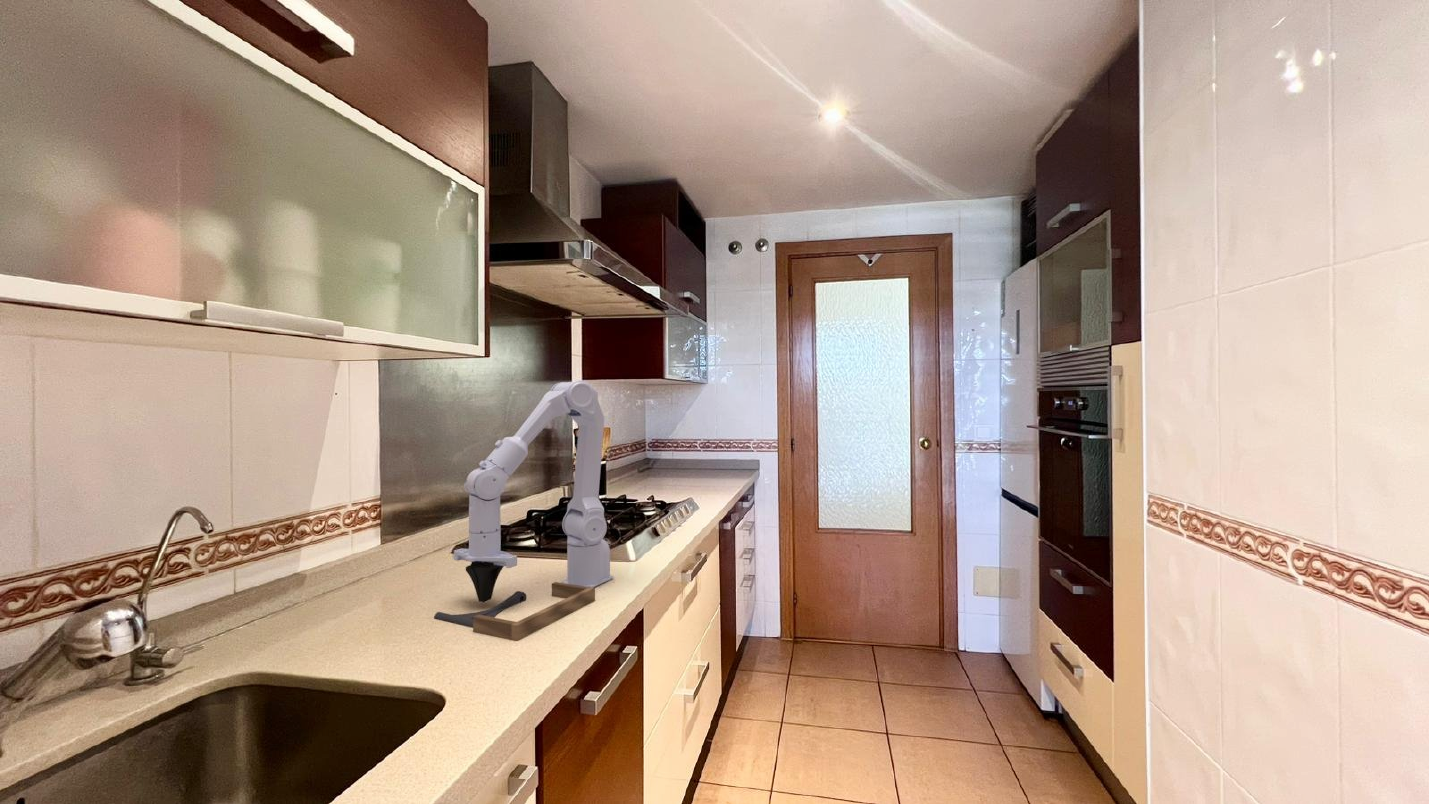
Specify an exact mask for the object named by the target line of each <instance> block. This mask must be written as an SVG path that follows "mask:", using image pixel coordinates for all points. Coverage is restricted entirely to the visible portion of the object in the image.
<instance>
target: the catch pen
mask: <svg viewBox="0 0 1429 804" xmlns="http://www.w3.org/2000/svg"><path fill="white" fill-rule="evenodd" d="M551 596H552V597H556V598H563V599H562V600H560V601H558V602H556V603H554V604H551V605H549V606H547V607H545V608H543V609H541V610H539V611H537V612H535V613H533V614H530V615H528V616H525V617H524V618H522V619H520V620H518V621H514V620H509V619H502V618H499V617H488V616H483V615H476V616H474V617H473V628H472V632H473V633H478V634H483V635H488V636H493V637H496V638H497V637H498V638H501V639H502V638H503V639H507V640H512V641H516V642H518V641H520V640H521V639H523V638H526V637H527V636H529V635H531V634H533V633H536V632H537V631H538V630H540V629H542V628H545V627H546V626H549V625H550V624H552V623H555V622H556V621H558V620H560V619H562V618H564V617H566V616H568V615H569V614H572V613H573V612H575V611H577V610H579V609H581V608H583V607H586V606H587V605H590V604H591V603H593V602H595V601H596V587H586V586H579V585H573V584H566V583H560V582H558V581H554V582H552V583H551Z"/></svg>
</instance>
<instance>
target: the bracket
mask: <svg viewBox="0 0 1429 804" xmlns="http://www.w3.org/2000/svg"><path fill="white" fill-rule="evenodd" d="M525 601H527V594H526V592H524V591H521V590H520V591H518V590H517V591H515V592H514V593H513V594H512V595H510V596H509V597H507V598H506V599H504V600H503V601H502V602H500V603H498V604H496V605H495V606H492V607H491V608H488V609H485V610H482V611H476V612H469V613H459V614H450V613H445V612H442V611H437V612H436V613H435V614H434V617H433V619H435V620H438V621H441V622H446V623H451V624H455V625H459V626H462V627H467V628H472V629H473V617H474V616H476V615H483V616H488V617H494V618H496V616H497V615H498V614H499V613H501V612H502V611H504V610H507V609H508V608H509V609H510V608H512V607H513V606H516V605H518V604H521V603H524V602H525Z"/></svg>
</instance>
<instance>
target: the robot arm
mask: <svg viewBox="0 0 1429 804" xmlns="http://www.w3.org/2000/svg"><path fill="white" fill-rule="evenodd" d="M598 395H599V393H598V391H597V390H596V388H594V387H593V386H592V385H591V384H590V383H589V382H587V381H585V380H575V381H559V382H557V383H555V384H554V385H553V386H552V387H551V388H550V390H549V391H547V392H546V393H545V394H544V396H543V397H542V399H541V400H540V401H539V403H538V404H537V406H536V407H535V408H534V409H533V410H532V411H531V413H530V415H529V416H528V417H527V418H526V420H525V421H524V423H522V425H521V426H520V428H519V429H518V430H517V432H515V434H514V435H513V436H506V437H504V438H503V439H502V440H501V439H498V440H497V441H496V442H495V444H494V446H495V448H494V449H493V450H492V452H491V453H490V454H489V455H488V456H487V457H486V459H485V460H481V461H480V462H479V463H478V465H479V466H480V467H479V468H478V467H477V468H476V469H474V470H472V471H471V472H470V473H469V474H468V476H467V477H466V482H464V483H463V485H464V489H465V491H466V493H467V494H468V495H469V497H468V498H469V499H468V502H469V504H468V548H459V549H455V550H453V560H454V561H457V562H458V561H464V562H465V561H466V562H470V564H469V565H467V566H465V571H466V573H467V574H468V576H469V578H470V580H471V582H472V583H473V586H474V589H475V590H474V591H475V593H476V597H477V599H478V602H479V603H486V602H488V601H490V600H492V597H493V592H494V589H495V587H496V586H495V585H496V582H497V580H498V577H499V576H500V573H501V571H502V570H503V568H504V567H505V568H506V569H511V568H514V567H517V566H518V555H515V554H510V553H509V552H505V551H503V550H501V549H502V548H501V546H502V544H501V539H502V538H501V537H502V536H501V534H502V533H501V531H502V530H501V494H503V493H504V492H505V489H506V488H507V487H506V486H507V485H506V483H507V480H509V478H510V477H511V476H512V475H513V474H514V472H515V471H516V470H517V469H518V468H519V466H520V465H521V464H522V463H523V462H524V460H525V459H526V458H527V456H528V455H529V453H528V451H529V450H528V447H529V445H530V443H532V442H533V440H534V439H535V438H536V437H537V436H538V435H539V434H540V433H541V431H543V429H545V428H546V426H547V425H549V423H550V422H551V421H553V419H554V418H556V417H557V418H558V417H560V416H563V415H568V416H569V417H570V418H571V419H572V420H573V421H574V422H575V423H576V425H577V426H578V431H577V433H578V434H577V442H576V443H577V445H576V455H575V456H576V458H575V471H574V472H575V473H574V485H573V486H574V487H573V497H572V498H571V499H570V501H569V502H568V503H567V508H566V513H565V515H564V516H563V519H562V522H561V527H562V531H563V532H564V534H565V535H566V536H567V539H566V541H567V543H566V544H567V547H566V548H567V549H566V550H567V554H566V555H567V559H566V560H567V565H566V567H567V569H566V571H567V572H566V573H567V574H566V575H567V577H566V578H567V579H566V580H563V581H561V582H559V583H566V584H573V585H579V586H586V587H593V588H596V587H598V586H599V585H602V584H604V583H606V582H608V581H610V580H612V579H613V578H614V575H611V549H610V546H609V543H608V542H607V541H606V540H605V539H604V538H605V535H606V534H607V531H608V530H607V529H608V526H607V520H606V519H605V508H604V506H603V504H602V502H601V500H600V499H599V495H600V494H599V492H600V482H601V481H600V480H601V469H602V468H601V467H602V457H603V456H602V454H603V443H604V442H603V440H604V430H605V429H604V427H605V416H604V413H603V411H602V408H601V405H600V403H599V401H598V400H599V399H598Z"/></svg>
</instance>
